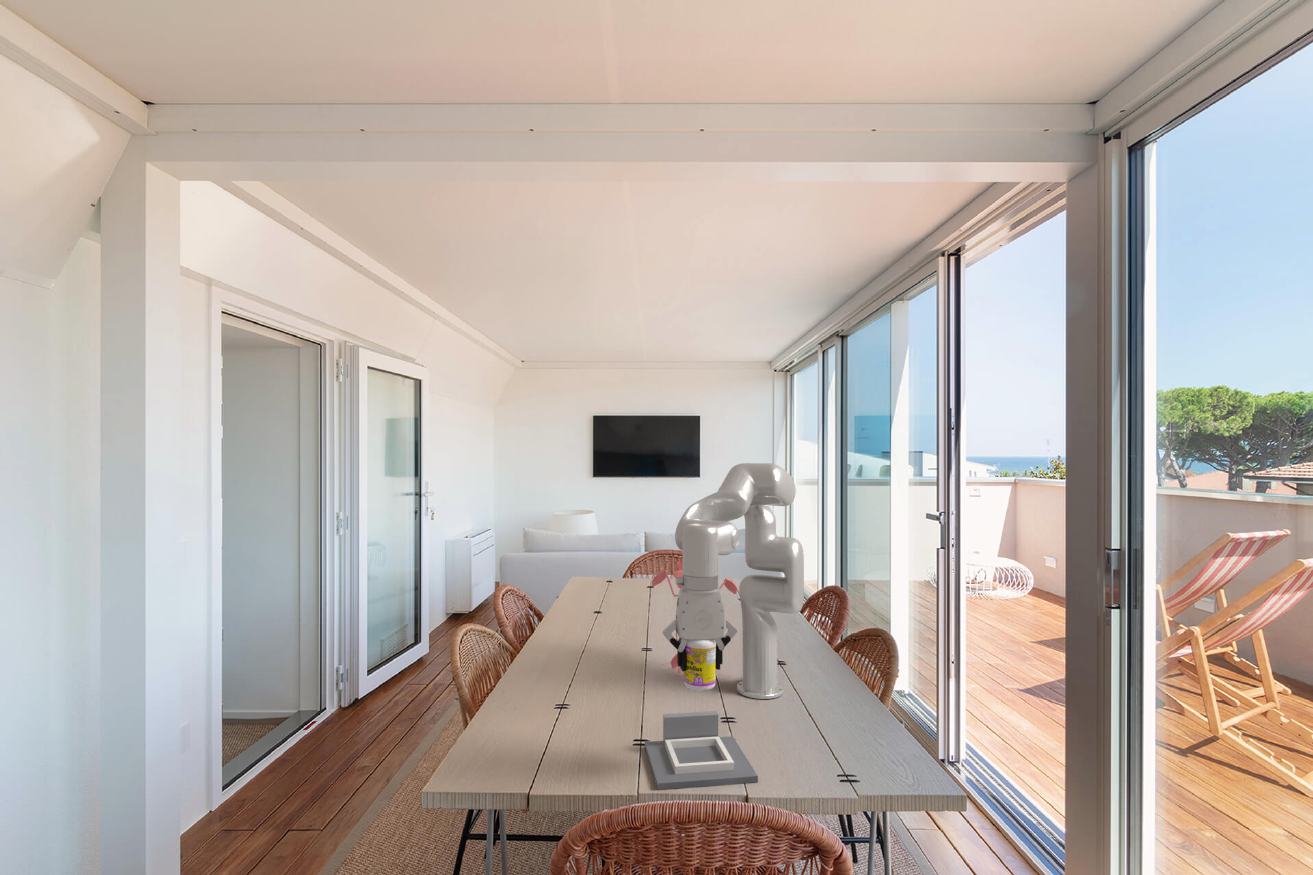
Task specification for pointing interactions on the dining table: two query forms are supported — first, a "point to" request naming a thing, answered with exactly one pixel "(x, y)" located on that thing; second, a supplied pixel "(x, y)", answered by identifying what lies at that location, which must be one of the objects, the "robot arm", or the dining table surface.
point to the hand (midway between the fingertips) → (699, 667)
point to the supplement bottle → (700, 664)
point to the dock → (696, 754)
